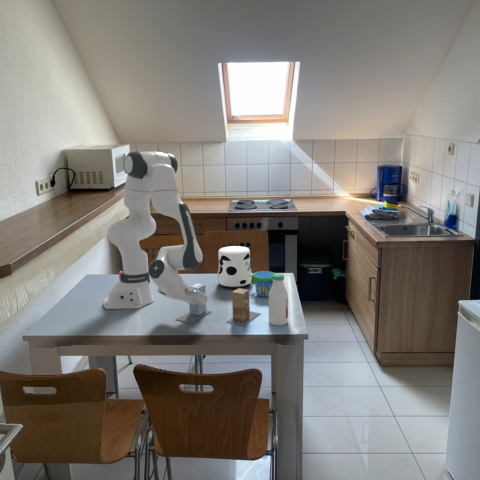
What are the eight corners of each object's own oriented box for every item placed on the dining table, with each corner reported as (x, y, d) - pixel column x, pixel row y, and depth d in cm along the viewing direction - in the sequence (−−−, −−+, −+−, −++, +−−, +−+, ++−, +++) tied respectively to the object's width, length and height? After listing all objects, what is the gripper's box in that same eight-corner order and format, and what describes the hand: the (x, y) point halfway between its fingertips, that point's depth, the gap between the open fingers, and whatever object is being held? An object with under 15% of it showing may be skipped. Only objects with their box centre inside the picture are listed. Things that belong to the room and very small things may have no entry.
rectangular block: (199, 315, 197) (198, 288, 195) (189, 313, 200) (188, 286, 197) (206, 311, 202) (205, 284, 199) (196, 309, 204) (195, 282, 201)
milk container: (259, 284, 236) (259, 249, 232) (234, 293, 225) (233, 256, 220) (235, 277, 248) (235, 243, 244) (210, 285, 237) (209, 250, 233)
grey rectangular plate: (243, 326, 187) (243, 325, 187) (226, 322, 191) (226, 321, 191) (260, 314, 199) (260, 313, 199) (244, 310, 203) (244, 309, 203)
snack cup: (284, 296, 218) (284, 275, 216) (267, 302, 212) (267, 280, 210) (262, 288, 230) (262, 268, 228) (245, 293, 224) (245, 272, 222)
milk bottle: (282, 327, 185) (282, 279, 180) (265, 323, 189) (264, 276, 184) (291, 320, 191) (291, 273, 187) (274, 317, 195) (274, 270, 191)
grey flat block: (191, 323, 191) (191, 323, 191) (175, 320, 195) (175, 319, 195) (211, 312, 202) (211, 311, 202) (196, 308, 206) (196, 308, 206)
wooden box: (243, 322, 190) (243, 293, 187) (232, 319, 193) (232, 291, 190) (250, 317, 194) (249, 289, 191) (239, 315, 197) (238, 287, 194)
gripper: (201, 284, 183) (216, 300, 193) (160, 277, 193) (177, 292, 204) (194, 299, 180) (210, 314, 190) (153, 290, 191) (170, 305, 201)
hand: (192, 303), depth 197 cm, fingers closed, pressing on rectangular block
